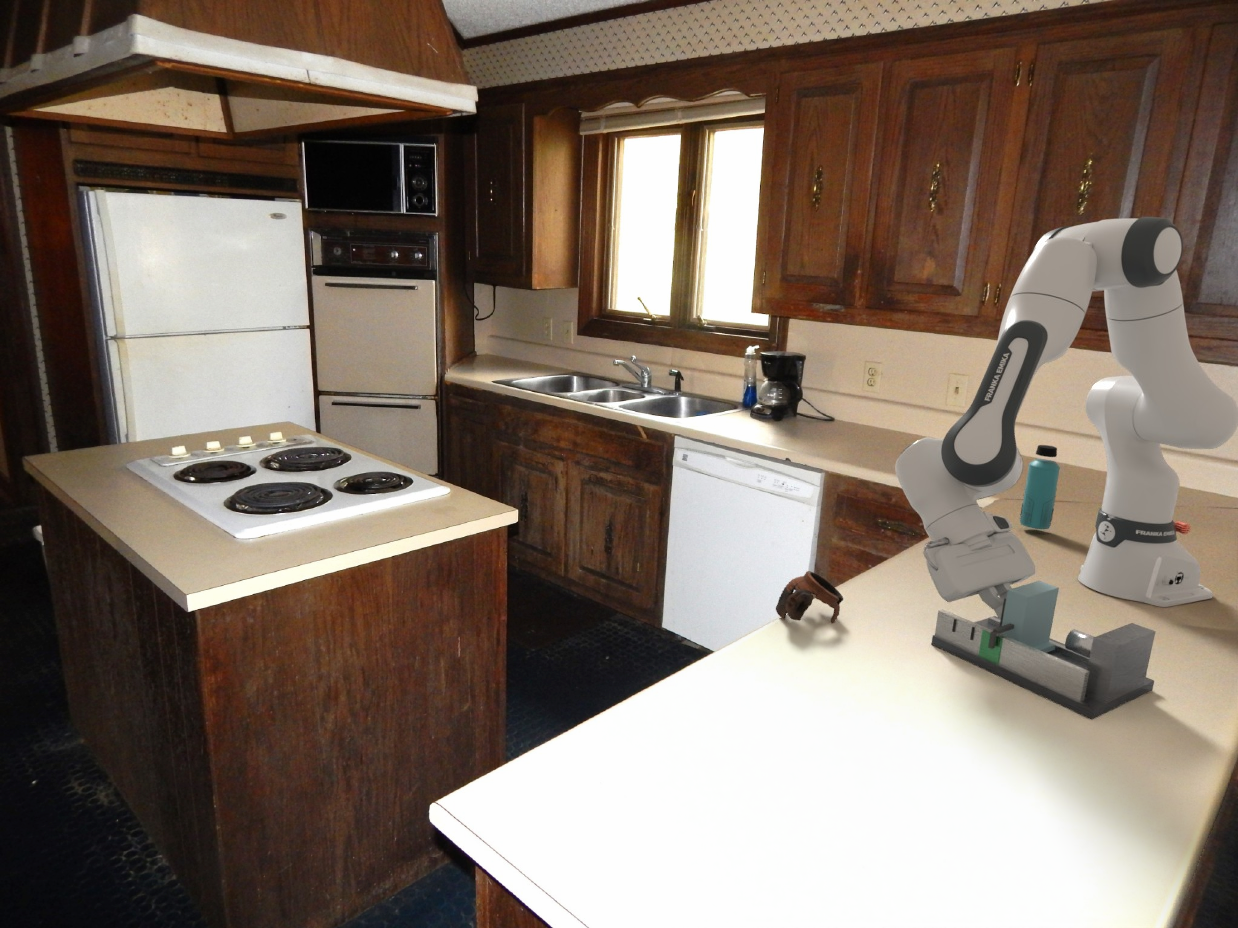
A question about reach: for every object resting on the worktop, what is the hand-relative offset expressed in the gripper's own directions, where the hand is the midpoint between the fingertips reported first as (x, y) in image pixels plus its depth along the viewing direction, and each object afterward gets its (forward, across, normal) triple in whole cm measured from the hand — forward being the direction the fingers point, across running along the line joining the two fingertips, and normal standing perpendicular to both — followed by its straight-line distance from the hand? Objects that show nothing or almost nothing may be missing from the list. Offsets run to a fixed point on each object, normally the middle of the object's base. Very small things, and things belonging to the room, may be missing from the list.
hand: (1010, 616), depth 120 cm
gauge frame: (+8, 0, 0) cm, 8 cm away
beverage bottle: (-20, +65, +28) cm, 74 cm away
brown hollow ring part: (-12, -18, +21) cm, 30 cm away
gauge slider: (+5, -2, +1) cm, 5 cm away
